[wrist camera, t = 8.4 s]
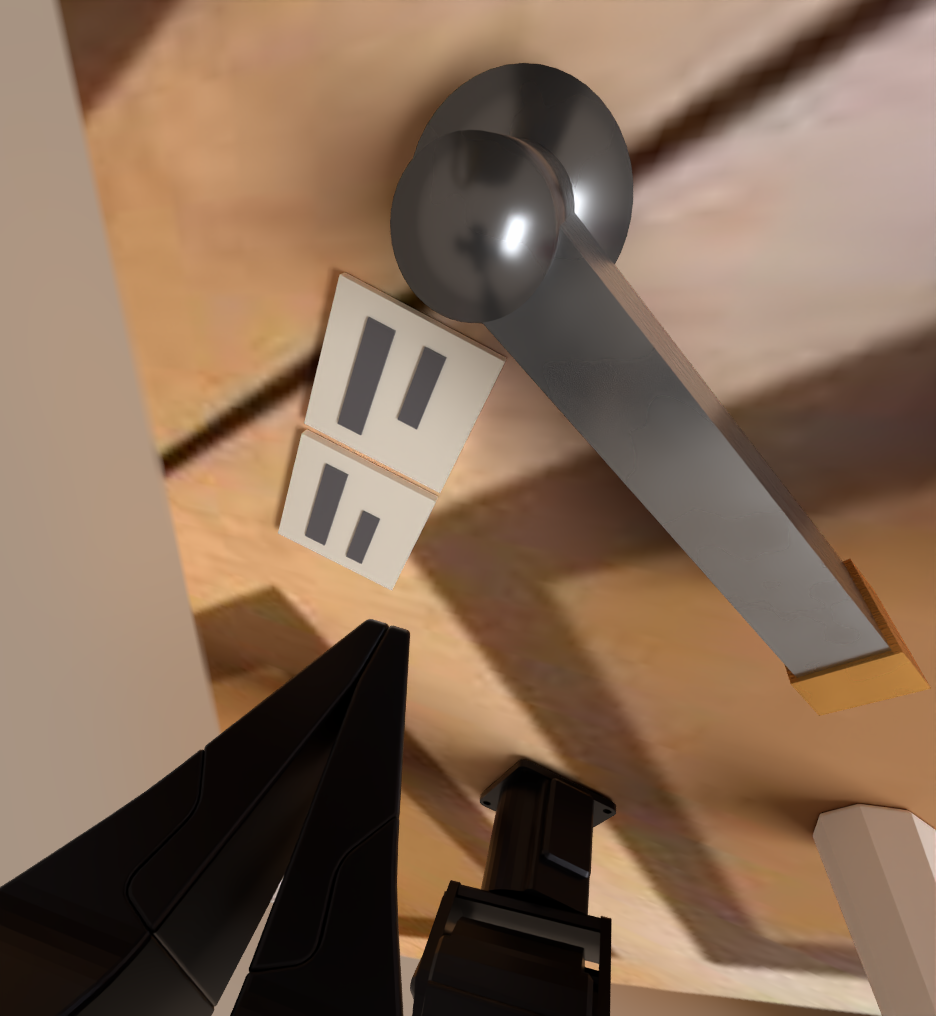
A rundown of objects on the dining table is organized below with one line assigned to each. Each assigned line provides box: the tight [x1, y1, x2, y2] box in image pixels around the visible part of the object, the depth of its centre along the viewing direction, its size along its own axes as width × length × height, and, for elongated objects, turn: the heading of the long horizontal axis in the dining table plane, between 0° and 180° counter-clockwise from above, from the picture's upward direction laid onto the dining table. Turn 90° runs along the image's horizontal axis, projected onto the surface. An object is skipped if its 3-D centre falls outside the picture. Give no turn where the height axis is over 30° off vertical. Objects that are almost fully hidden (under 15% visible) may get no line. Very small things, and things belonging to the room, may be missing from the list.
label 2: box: [278, 429, 438, 590], centre depth 22 cm, size 6×6×1 cm
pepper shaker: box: [813, 804, 936, 1016], centre depth 21 cm, size 5×5×11 cm
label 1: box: [304, 272, 507, 493], centre depth 18 cm, size 6×6×1 cm
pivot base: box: [413, 63, 633, 324], centre depth 14 cm, size 6×6×1 cm
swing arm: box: [390, 130, 931, 716], centre depth 13 cm, size 18×3×4 cm, turn 45°
